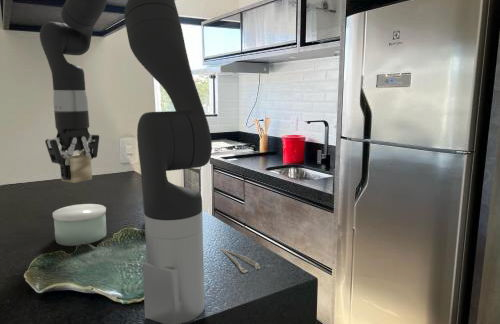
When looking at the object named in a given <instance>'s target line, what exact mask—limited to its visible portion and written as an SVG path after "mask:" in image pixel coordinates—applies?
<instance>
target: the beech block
mask: <svg viewBox="0 0 500 324" xmlns="http://www.w3.org/2000/svg"><path fill="white" fill-rule="evenodd" d="M64 160H65V158H64ZM69 165H70V171H71V180H64V179H63V178H62V177H61V176H60V178H61V181H62V182H67V183H74V184H76V183H80V182H85V181H90V180H92V179H93V172H92V160H91V156H88V155H79V153H78V154H77V153H76V154H73V156H71V158H70V164H69Z"/></svg>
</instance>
